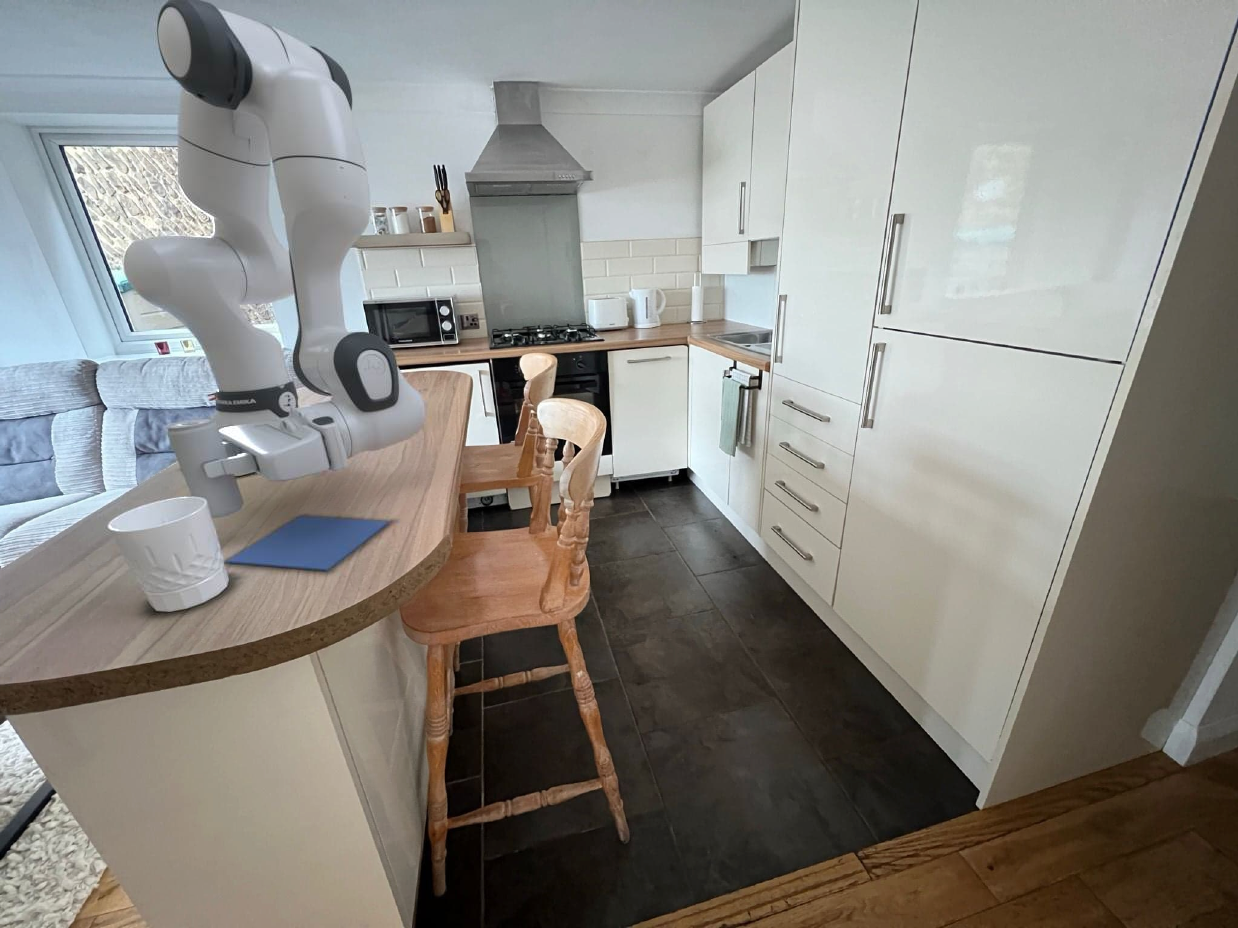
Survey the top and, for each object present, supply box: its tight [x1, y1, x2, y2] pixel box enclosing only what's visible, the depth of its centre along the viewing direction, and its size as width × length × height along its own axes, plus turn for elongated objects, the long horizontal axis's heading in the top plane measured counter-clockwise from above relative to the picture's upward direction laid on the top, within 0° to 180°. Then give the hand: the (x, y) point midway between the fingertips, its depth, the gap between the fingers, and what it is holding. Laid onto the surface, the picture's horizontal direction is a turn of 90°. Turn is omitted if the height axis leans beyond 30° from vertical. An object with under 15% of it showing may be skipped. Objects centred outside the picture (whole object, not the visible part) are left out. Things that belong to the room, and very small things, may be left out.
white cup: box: [107, 496, 230, 613], centre depth 54 cm, size 8×8×10 cm
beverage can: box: [165, 416, 245, 519], centre depth 63 cm, size 5×5×12 cm
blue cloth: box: [225, 515, 389, 572], centre depth 66 cm, size 14×12×1 cm
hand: (197, 465), depth 62 cm, fingers closed on beverage can, 5 cm apart
